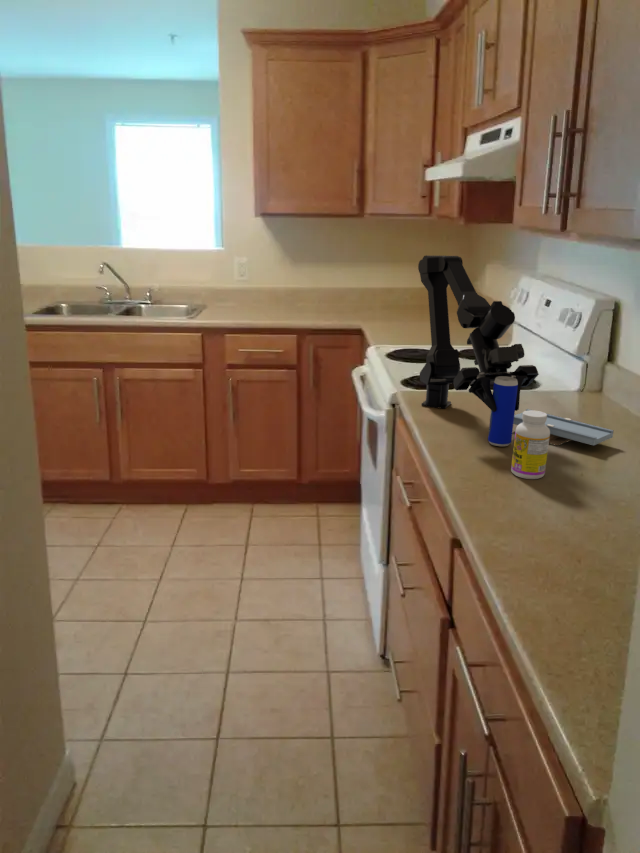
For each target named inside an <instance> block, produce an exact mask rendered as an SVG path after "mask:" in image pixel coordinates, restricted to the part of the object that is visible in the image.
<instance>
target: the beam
mask: <svg viewBox="0 0 640 853" xmlns="http://www.w3.org/2000/svg"><path fill="white" fill-rule="evenodd" d="M529 410H531V409H529V408H527V409H525V411H529ZM522 414H523V412H521V413H517V414H514V422H513V425H516V426H518V425H519V424H520V423H523V420H522ZM546 414H547V421H546V422H545V425H546V426H547V427H548V428H549V430H550V434H553V435H556V436H560V437H564V438H567V439H571V440H570V441H575V442H580V443H582V444H587V445H591V446H596V445H598V444H600V443H603V442H605V441H608V440H610V439H612V438H614V430H613V429H609V428H605V427H602V426H597V425H595V424H590V423H585V422H582V421H579V420H573V419H572V418H569V417H563V416H562V417H561V416H557V415H553V414H549V413H546Z"/></svg>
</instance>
